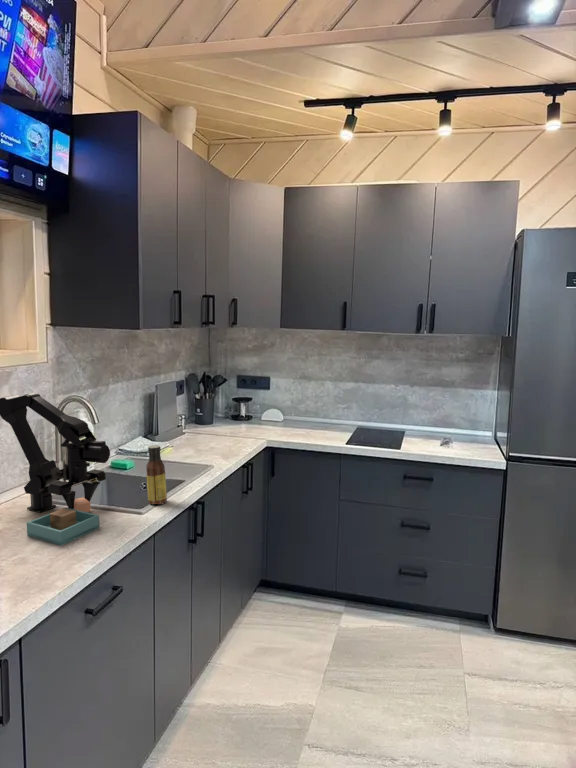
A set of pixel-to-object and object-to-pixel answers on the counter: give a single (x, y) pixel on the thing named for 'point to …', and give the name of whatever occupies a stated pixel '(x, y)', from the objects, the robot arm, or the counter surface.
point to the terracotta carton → (82, 505)
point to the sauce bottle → (156, 477)
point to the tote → (60, 537)
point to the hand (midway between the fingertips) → (79, 507)
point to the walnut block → (62, 519)
